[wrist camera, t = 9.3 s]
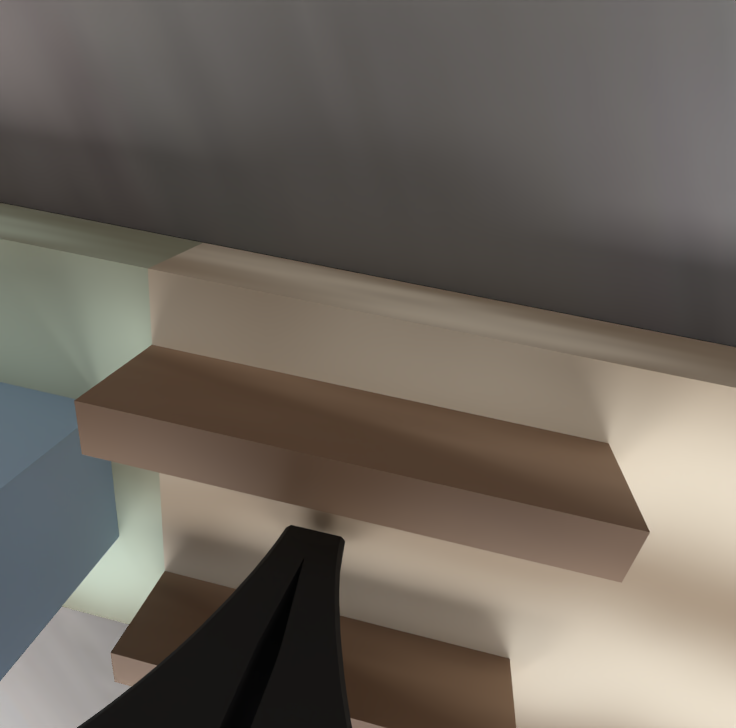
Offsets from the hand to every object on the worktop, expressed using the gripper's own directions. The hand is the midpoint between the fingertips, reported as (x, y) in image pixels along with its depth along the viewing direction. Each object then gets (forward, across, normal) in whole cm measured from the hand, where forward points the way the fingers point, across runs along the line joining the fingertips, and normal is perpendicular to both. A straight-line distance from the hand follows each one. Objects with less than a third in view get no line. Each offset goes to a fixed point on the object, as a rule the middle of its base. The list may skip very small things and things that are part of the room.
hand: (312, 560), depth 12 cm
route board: (+3, +1, 0) cm, 4 cm away
